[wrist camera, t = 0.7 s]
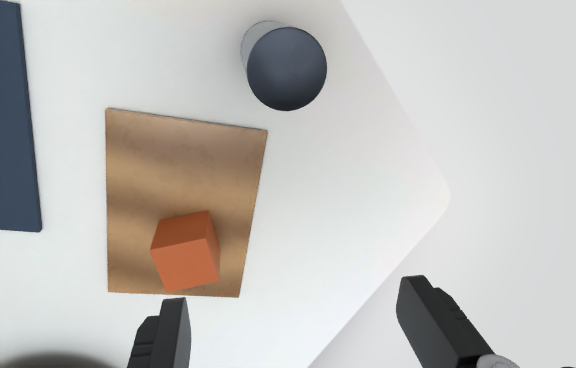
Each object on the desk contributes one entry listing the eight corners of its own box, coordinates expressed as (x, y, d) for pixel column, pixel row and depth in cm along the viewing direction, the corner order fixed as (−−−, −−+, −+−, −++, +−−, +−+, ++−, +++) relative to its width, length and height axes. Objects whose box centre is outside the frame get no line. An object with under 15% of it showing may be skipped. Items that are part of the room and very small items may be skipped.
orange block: (158, 220, 36) (149, 250, 32) (208, 209, 36) (206, 238, 32) (173, 259, 38) (166, 293, 34) (220, 249, 39) (219, 281, 34)
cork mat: (107, 107, 31) (105, 109, 31) (266, 130, 34) (267, 132, 34) (109, 288, 39) (107, 292, 39) (238, 294, 42) (238, 297, 42)
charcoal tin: (245, 15, 30) (253, 19, 20) (301, 26, 31) (335, 36, 21) (237, 74, 32) (241, 104, 22) (290, 83, 33) (317, 116, 23)
